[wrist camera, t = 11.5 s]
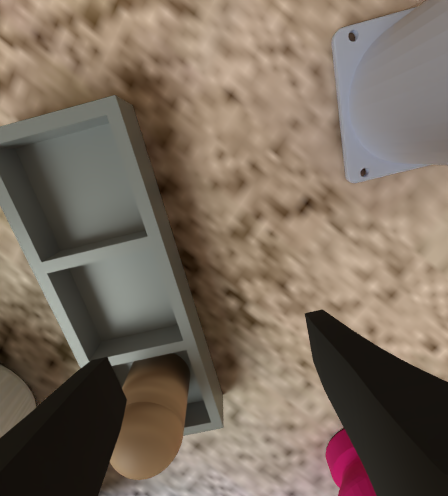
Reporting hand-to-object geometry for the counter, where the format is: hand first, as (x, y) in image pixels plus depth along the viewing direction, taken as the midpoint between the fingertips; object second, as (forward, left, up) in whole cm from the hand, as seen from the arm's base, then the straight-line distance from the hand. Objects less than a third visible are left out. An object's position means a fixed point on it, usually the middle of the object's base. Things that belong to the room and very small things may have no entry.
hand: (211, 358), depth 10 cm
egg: (+6, +7, -9) cm, 13 cm away
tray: (+6, 0, -9) cm, 11 cm away
